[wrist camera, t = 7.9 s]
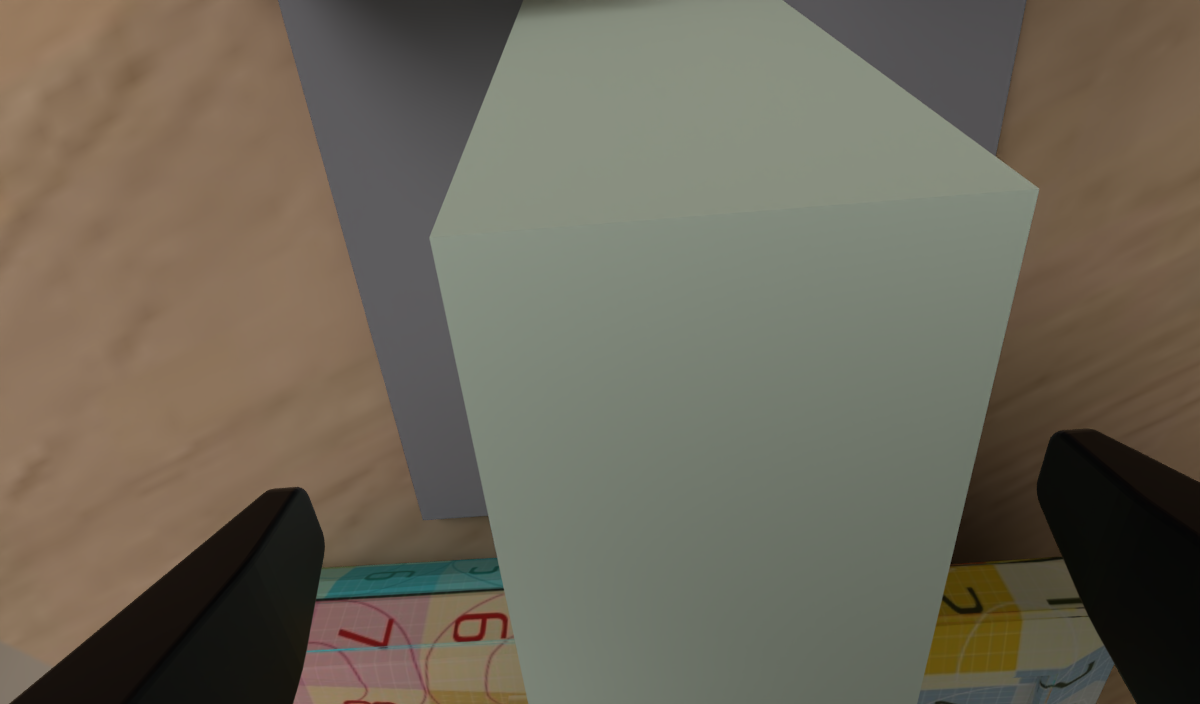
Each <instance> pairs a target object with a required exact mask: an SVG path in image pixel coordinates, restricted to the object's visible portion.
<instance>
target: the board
mask: <svg viewBox="0 0 1200 704" xmlns="http://www.w3.org/2000/svg"><path fill="white" fill-rule="evenodd" d="M1038 192H1039V188H1038V187H1036V186H1035V185H1034V184H1032V183H1031V182H1029V181H1028V180H1027V179H1025V178H1024V177H1023V176H1021V175H1020V174H1019V173H1017V172H1016V171H1014V170H1013V169H1012V168H1010V167H1009V166H1008V165H1006V164H1005V163H1004V162H1002V161H1001V160H1000V159H998V158H997V157H995V156H994V155H993V154H991V153H990V152H989V151H987V150H986V149H985V148H983V147H982V146H980V145H979V144H978V143H976V142H975V141H974V140H972V139H971V138H970V137H968V136H967V135H965V134H964V133H963V132H961V131H960V130H959V129H957V128H956V127H955V126H953V125H952V124H950V123H949V122H948V121H946V120H945V119H944V118H942V117H941V116H940V115H938V114H937V113H936V112H934V111H933V110H931V109H930V108H929V107H927V106H926V105H925V104H923V103H922V102H921V101H919V100H918V99H916V98H915V97H914V96H912V95H911V94H910V93H908V92H907V91H906V90H904V89H903V88H901V87H900V86H899V85H897V84H896V83H895V82H893V81H892V80H891V79H889V78H888V77H886V76H885V75H884V74H882V73H881V72H880V71H878V70H877V69H876V68H874V67H873V66H872V65H870V64H869V63H867V62H866V61H865V60H863V59H862V58H861V57H859V56H858V55H857V54H855V53H854V52H852V51H851V50H850V49H848V48H847V47H846V46H844V45H843V44H842V43H840V42H839V41H837V40H836V39H835V38H833V37H832V36H831V35H829V34H828V33H827V32H825V31H824V30H822V29H821V28H820V27H818V26H817V25H816V24H814V23H813V22H812V21H810V20H809V19H808V18H806V17H805V16H803V15H802V14H801V13H799V12H798V11H797V10H795V9H794V8H793V7H791V6H790V5H788V4H787V3H786V2H784V1H783V0H523V2H522V5H521V7H520V10H519V12H518V15H517V18H516V20H515V23H514V25H513V28H512V30H511V33H510V35H509V38H508V40H507V43H506V45H505V48H504V50H503V53H502V55H501V58H500V60H499V63H498V65H497V68H496V71H495V73H494V76H493V78H492V81H491V83H490V86H489V88H488V91H487V93H486V96H485V98H484V101H483V103H482V106H481V108H480V111H479V113H478V116H477V118H476V121H475V124H474V126H473V129H472V131H471V134H470V136H469V139H468V141H467V144H466V146H465V149H464V151H463V154H462V156H461V159H460V161H459V164H458V166H457V169H456V171H455V174H454V176H453V179H452V182H451V184H450V187H449V189H448V192H447V194H446V197H445V199H444V202H443V204H442V207H441V209H440V212H439V214H438V217H437V219H436V222H435V224H434V227H433V229H432V232H431V235H430V237H429V238H430V243H431V248H432V252H433V257H434V262H435V267H436V271H437V276H438V281H439V285H440V290H441V295H442V300H443V304H444V309H445V314H446V318H447V323H448V328H449V333H450V337H451V342H452V347H453V351H454V356H455V361H456V366H457V370H458V375H459V380H460V384H461V389H462V394H463V399H464V403H465V408H466V413H467V417H468V422H469V427H470V432H471V436H472V441H473V446H474V450H475V455H476V460H477V465H478V469H479V474H480V479H481V483H482V488H483V493H484V498H485V502H486V507H487V512H488V516H489V521H490V526H491V531H492V535H493V540H494V545H495V549H496V554H497V559H498V564H499V568H500V573H501V578H502V582H503V587H504V592H505V597H506V601H507V606H508V611H509V615H510V620H511V625H512V629H513V634H514V639H515V644H516V648H517V653H518V658H519V662H520V667H521V672H522V677H523V681H524V686H525V691H526V695H527V700H528V704H917V702H918V698H919V694H920V690H921V685H922V681H923V677H924V673H925V669H926V664H927V660H928V656H929V652H930V648H931V643H932V639H933V635H934V631H935V626H936V622H937V618H938V614H939V610H940V605H941V601H942V597H943V593H944V589H945V584H946V580H947V576H948V572H949V567H950V563H951V559H952V555H953V551H954V546H955V542H956V538H957V534H958V530H959V525H960V521H961V517H962V513H963V508H964V504H965V500H966V496H967V492H968V487H969V483H970V479H971V475H972V470H973V466H974V462H975V458H976V454H977V449H978V445H979V441H980V437H981V433H982V428H983V424H984V420H985V416H986V411H987V407H988V403H989V399H990V395H991V390H992V386H993V382H994V378H995V374H996V369H997V365H998V361H999V357H1000V352H1001V348H1002V344H1003V340H1004V336H1005V331H1006V327H1007V323H1008V319H1009V315H1010V310H1011V306H1012V302H1013V298H1014V293H1015V289H1016V285H1017V281H1018V277H1019V272H1020V268H1021V264H1022V260H1023V256H1024V251H1025V247H1026V243H1027V239H1028V234H1029V230H1030V226H1031V222H1032V218H1033V213H1034V209H1035V205H1036V201H1037V197H1038Z"/></svg>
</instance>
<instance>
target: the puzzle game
mask: <svg viewBox="0 0 1200 704" xmlns="http://www.w3.org/2000/svg"><path fill="white" fill-rule="evenodd" d="M1113 666H1114V662H1113V660H1112V659H1111V657H1110V655H1109V653H1108V652H1107V650H1106V648H1105V646H1104V644H1103V643H1102V641H1101V639H1100V637H1099V636H1098V634H1097V632H1096V630H1095V628H1094V626H1093V624H1092V622H1091V620H1090V619H1089V617H1088V615H1087V612H1086V610H1085V608H1084V606H1083V604H1082V602H1081V600H1080V597H1079V595H1078V593H1077V590H1076V588H1075V586H1074V583H1073V581H1072V579H1071V576H1070V574H1069V572H1068V569H1067V567H1066V564H1065V562H1064V560H1063V557H1049V558H1034V559H1020V560H1005V561H991V562H976V563H961V564H950V567H949V572H948V576H947V580H946V584H945V589H944V593H943V597H942V601H941V605H940V610H939V614H938V618H937V622H936V626H935V631H934V635H933V639H932V643H931V648H930V652H929V656H928V660H927V664H926V669H925V673H924V677H923V681H922V685H921V690H920V694H919V698H918V702H917V704H1096V701H1097V699H1098V697H1099V695H1100V693H1101V691H1102V689H1103V687H1104V685H1105V682H1106V680H1107V678H1108V676H1109V674H1110V672H1111V670H1112V668H1113ZM293 704H528V700H527V695H526V691H525V686H524V681H523V677H522V672H521V667H520V662H519V658H518V653H517V648H516V644H515V639H514V634H513V629H512V625H511V620H510V615H509V611H508V606H507V601H506V597H505V592H504V587H503V582H502V578H501V573H500V568H499V564H498V559H497V558H486V559H468V560H451V561H434V562H416V563H399V564H382V565H364V566H347V567H330V568H322V569H321V575H320V580H319V586H318V591H317V597H316V603H315V608H314V614H313V619H312V625H311V630H310V636H309V642H308V647H307V652H306V657H305V662H304V667H303V671H302V675H301V678H300V682H299V686H298V689H297V693H296V696H295V699H294V703H293Z"/></svg>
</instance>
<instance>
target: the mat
mask: <svg viewBox="0 0 1200 704" xmlns="http://www.w3.org/2000/svg"><path fill="white" fill-rule="evenodd" d="M783 1H784V2H786V3H787V4H788V5H790V6H791V7H793V8H794V9H795V10H797V11H798V12H799V13H801V14H802V15H803V16H805V17H806V18H808V19H809V20H810V21H812V22H813V23H814V24H816V25H817V26H818V27H820V28H821V29H822V30H824V31H825V32H827V33H828V34H829V35H831V36H832V37H833V38H835V39H836V40H837V41H839V42H840V43H842V44H843V45H844V46H846V47H847V48H848V49H850V50H851V51H852V52H854V53H855V54H857V55H858V56H859V57H861V58H862V59H863V60H865V61H866V62H867V63H869V64H870V65H872V66H873V67H874V68H876V69H877V70H878V71H880V72H881V73H882V74H884V75H885V76H886V77H888V78H889V79H891V80H892V81H893V82H895V83H896V84H897V85H899V86H900V87H901V88H903V89H904V90H906V91H907V92H908V93H910V94H911V95H912V96H914V97H915V98H916V99H918V100H919V101H921V102H922V103H923V104H925V105H926V106H927V107H929V108H930V109H931V110H933V111H934V112H936V113H937V114H938V115H940V116H941V117H942V118H944V119H945V120H946V121H948V122H949V123H950V124H952V125H953V126H955V127H956V128H957V129H959V130H960V131H961V132H963V133H964V134H965V135H967V136H968V137H970V138H971V139H972V140H974V141H975V142H976V143H978V144H979V145H980V146H982V147H983V148H985V149H986V150H987V151H989V152H990V153H991V154H993V155H994V156H995V157H996V151H997V146H998V141H999V136H1000V131H1001V126H1002V121H1003V116H1004V111H1005V106H1006V101H1007V96H1008V91H1009V86H1010V81H1011V76H1012V71H1013V66H1014V61H1015V56H1016V51H1017V45H1018V40H1019V35H1020V30H1021V25H1022V20H1023V15H1024V10H1025V5H1026V0H783ZM278 2H279V6H280V9H281V13H282V16H283V20H284V23H285V27H286V31H287V34H288V38H289V41H290V45H291V49H292V52H293V56H294V59H295V63H296V66H297V70H298V74H299V77H300V81H301V84H302V88H303V92H304V95H305V99H306V102H307V106H308V109H309V113H310V117H311V120H312V124H313V127H314V131H315V135H316V138H317V142H318V145H319V149H320V152H321V156H322V160H323V163H324V167H325V170H326V174H327V178H328V181H329V185H330V188H331V192H332V195H333V199H334V203H335V206H336V210H337V213H338V217H339V221H340V224H341V228H342V231H343V235H344V238H345V242H346V246H347V249H348V253H349V256H350V260H351V264H352V267H353V271H354V274H355V278H356V282H357V285H358V289H359V292H360V296H361V299H362V303H363V307H364V310H365V314H366V317H367V321H368V325H369V328H370V332H371V335H372V339H373V342H374V346H375V350H376V353H377V357H378V360H379V364H380V368H381V371H382V375H383V378H384V382H385V385H386V389H387V393H388V396H389V400H390V403H391V407H392V411H393V414H394V418H395V421H396V425H397V428H398V432H399V436H400V439H401V443H402V446H403V450H404V454H405V457H406V461H407V464H408V468H409V471H410V475H411V479H412V482H413V486H414V489H415V493H416V497H417V500H418V504H419V507H420V511H421V514H422V518H423V520H434V519H447V518H461V517H475V516H488V512H487V507H486V502H485V498H484V493H483V488H482V483H481V479H480V474H479V469H478V465H477V460H476V455H475V450H474V446H473V441H472V436H471V432H470V427H469V422H468V417H467V413H466V408H465V403H464V399H463V394H462V389H461V384H460V380H459V375H458V370H457V366H456V361H455V356H454V351H453V347H452V342H451V337H450V333H449V328H448V323H447V318H446V314H445V309H444V304H443V300H442V295H441V290H440V285H439V281H438V276H437V271H436V267H435V262H434V257H433V252H432V248H431V243H430V238H429V237H430V235H431V232H432V229H433V227H434V224H435V222H436V219H437V217H438V214H439V212H440V209H441V207H442V204H443V202H444V199H445V197H446V194H447V192H448V189H449V187H450V184H451V182H452V179H453V176H454V174H455V171H456V169H457V166H458V164H459V161H460V159H461V156H462V154H463V151H464V149H465V146H466V144H467V141H468V139H469V136H470V134H471V131H472V129H473V126H474V124H475V121H476V118H477V116H478V113H479V111H480V108H481V106H482V103H483V101H484V98H485V96H486V93H487V91H488V88H489V86H490V83H491V81H492V78H493V76H494V73H495V71H496V68H497V65H498V63H499V60H500V58H501V55H502V53H503V50H504V48H505V45H506V43H507V40H508V38H509V35H510V33H511V30H512V28H513V25H514V23H515V20H516V18H517V15H518V12H519V10H520V7H521V5H522V2H523V0H278Z"/></svg>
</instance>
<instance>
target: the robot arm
mask: <svg viewBox="0 0 1200 704" xmlns="http://www.w3.org/2000/svg"><path fill="white" fill-rule="evenodd" d="M1037 496H1038V500H1039V503H1040V506H1041V508H1042V510H1043V513H1044V515H1045V517H1046V520H1047V522H1048V525H1049V527H1050V529H1051V532H1052V534H1053V536H1054V539H1055V541H1056V543H1057V546H1058V548H1059V550H1060V553H1061V555H1062V557H1063V560H1064V562H1065V564H1066V567H1067V569H1068V572H1069V574H1070V576H1071V579H1072V581H1073V583H1074V586H1075V588H1076V590H1077V593H1078V595H1079V597H1080V600H1081V602H1082V604H1083V606H1084V608H1085V610H1086V612H1087V615H1088V617H1089V619H1090V620H1091V622H1092V624H1093V626H1094V628H1095V630H1096V632H1097V634H1098V636H1099V637H1100V639H1101V641H1102V643H1103V644H1104V646H1105V648H1106V650H1107V652H1108V653H1109V655H1110V657H1111V659H1112V660H1113V662H1114V664H1115V666H1116V668H1117V669H1118V671H1119V673H1120V675H1121V677H1122V678H1123V680H1124V682H1125V684H1126V685H1127V687H1128V689H1129V691H1130V693H1131V694H1132V696H1133V698H1134V700H1135V702H1136V703H1137V704H1200V482H1198V481H1196V480H1194V479H1192V478H1190V477H1188V476H1186V475H1184V474H1182V473H1180V472H1178V471H1176V470H1174V469H1172V468H1170V467H1168V466H1166V465H1164V464H1162V463H1160V462H1158V461H1156V460H1154V459H1152V458H1150V457H1148V456H1146V455H1144V454H1142V453H1140V452H1138V451H1136V450H1134V449H1132V448H1130V447H1128V446H1126V445H1124V444H1122V443H1120V442H1118V441H1116V440H1114V439H1112V438H1110V437H1108V436H1106V435H1104V434H1102V433H1100V432H1098V431H1096V430H1093V429H1075V430H1062V431H1058V432H1056V433H1055V434H1053V436H1052V437H1051V438H1050V441H1049V444H1048V447H1047V450H1046V454H1045V457H1044V461H1043V464H1042V467H1041V471H1040V474H1039V478H1038V482H1037ZM324 551H325V543H324V536H323V532H322V530H321V527H320V524H319V522H318V519H317V516H316V514H315V511H314V509H313V506H312V503H311V501H310V498H309V496H308V494H307V492H306V491H305V490H304V489H302V488H300V487H290V488H276V489H271V490H268V491H266V492H265V493H263V494H262V495H261V496H260V497H258V498H257V499H256V500H255V501H254V502H252V503H251V504H250V505H249V506H248V507H246V508H245V509H244V510H243V511H242V512H240V513H239V514H238V515H237V516H235V517H234V518H233V519H232V520H231V521H229V522H228V523H227V524H226V525H225V526H223V527H222V528H221V529H220V530H219V531H217V532H216V533H215V534H214V535H213V536H211V537H210V538H209V539H208V540H207V541H205V542H204V543H203V544H202V545H200V546H199V547H198V548H197V549H196V550H194V551H193V552H192V553H191V554H190V555H188V556H187V557H186V558H185V559H184V560H182V561H181V562H180V563H179V564H178V565H176V566H175V567H174V568H173V569H171V570H170V571H169V572H168V573H167V574H165V575H164V576H163V577H162V578H161V579H159V580H158V581H157V582H156V583H155V584H153V585H152V586H151V587H150V588H149V589H147V590H146V591H145V592H144V593H143V594H141V595H140V596H139V597H138V598H136V599H135V600H134V601H133V602H132V603H130V604H129V605H128V606H127V607H126V608H124V609H123V610H122V611H121V612H120V613H118V614H117V615H116V616H115V617H114V618H112V619H111V620H110V621H109V622H108V623H106V624H105V625H104V626H103V627H101V628H100V629H99V630H98V631H97V632H95V633H94V634H93V635H92V636H91V637H89V638H88V639H87V640H86V641H85V642H83V643H82V644H81V645H80V646H79V647H77V648H76V649H75V650H74V651H72V652H71V653H70V654H69V655H68V656H66V657H65V658H64V659H63V660H62V661H60V662H59V663H58V664H57V665H56V666H54V667H53V668H52V669H51V670H50V671H48V672H47V673H46V674H45V675H43V676H42V677H41V678H40V679H39V680H37V681H36V682H35V683H34V684H33V685H31V686H30V687H29V688H28V689H27V690H25V691H24V692H23V693H22V694H21V695H19V696H18V697H17V698H16V699H14V700H13V701H12V702H11V703H10V704H293V703H294V699H295V696H296V693H297V689H298V686H299V682H300V678H301V675H302V671H303V667H304V662H305V657H306V652H307V647H308V642H309V636H310V630H311V625H312V619H313V614H314V608H315V603H316V597H317V591H318V586H319V580H320V575H321V569H322V564H323V558H324Z"/></svg>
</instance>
